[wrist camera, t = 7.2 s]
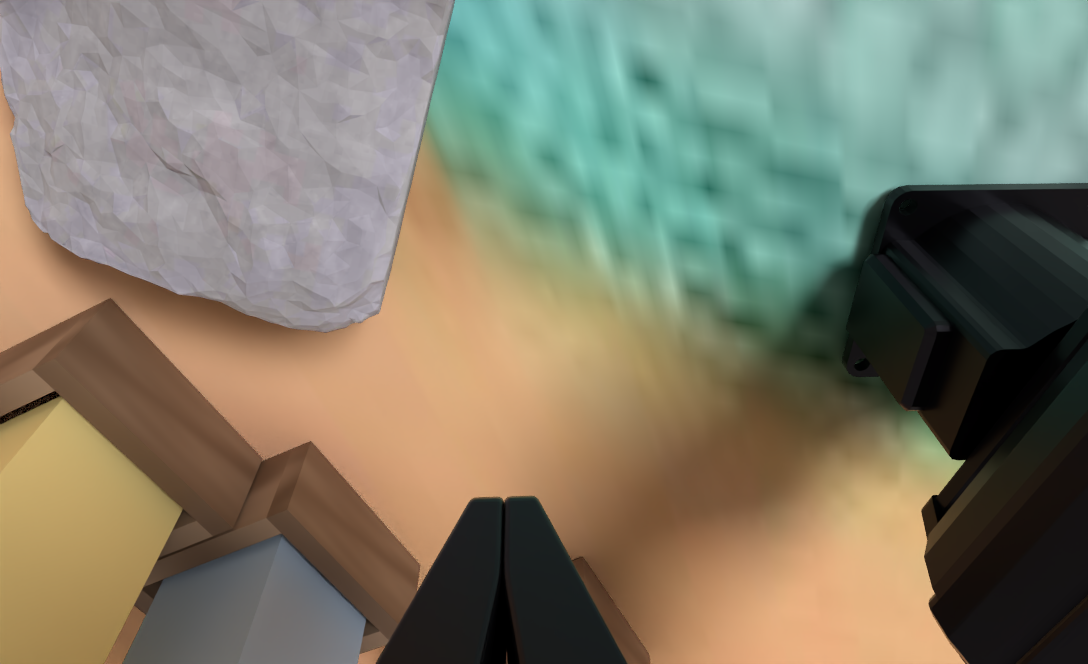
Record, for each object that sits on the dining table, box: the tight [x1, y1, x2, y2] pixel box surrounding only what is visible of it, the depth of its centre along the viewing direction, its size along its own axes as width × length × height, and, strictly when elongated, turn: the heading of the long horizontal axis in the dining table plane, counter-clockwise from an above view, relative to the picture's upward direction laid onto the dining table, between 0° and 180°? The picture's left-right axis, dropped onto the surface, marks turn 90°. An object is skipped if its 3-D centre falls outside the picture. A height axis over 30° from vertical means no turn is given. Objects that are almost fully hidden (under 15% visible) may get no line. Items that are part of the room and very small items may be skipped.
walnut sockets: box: [0, 298, 650, 664], centre depth 27 cm, size 15×25×3 cm, turn 26°
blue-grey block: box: [122, 534, 366, 664], centre depth 25 cm, size 5×5×8 cm
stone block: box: [0, 0, 455, 333], centre depth 18 cm, size 12×5×10 cm
